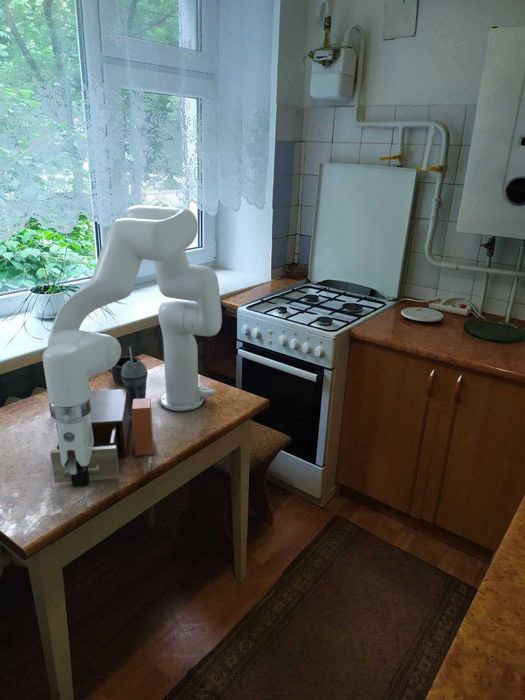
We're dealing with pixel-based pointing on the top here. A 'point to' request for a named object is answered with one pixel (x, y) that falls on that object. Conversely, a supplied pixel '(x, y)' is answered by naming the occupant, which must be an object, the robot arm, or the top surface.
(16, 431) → the top surface
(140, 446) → the block
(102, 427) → the drawer
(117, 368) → the mug
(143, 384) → the beverage cup
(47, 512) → the top surface
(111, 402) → the cabinet
